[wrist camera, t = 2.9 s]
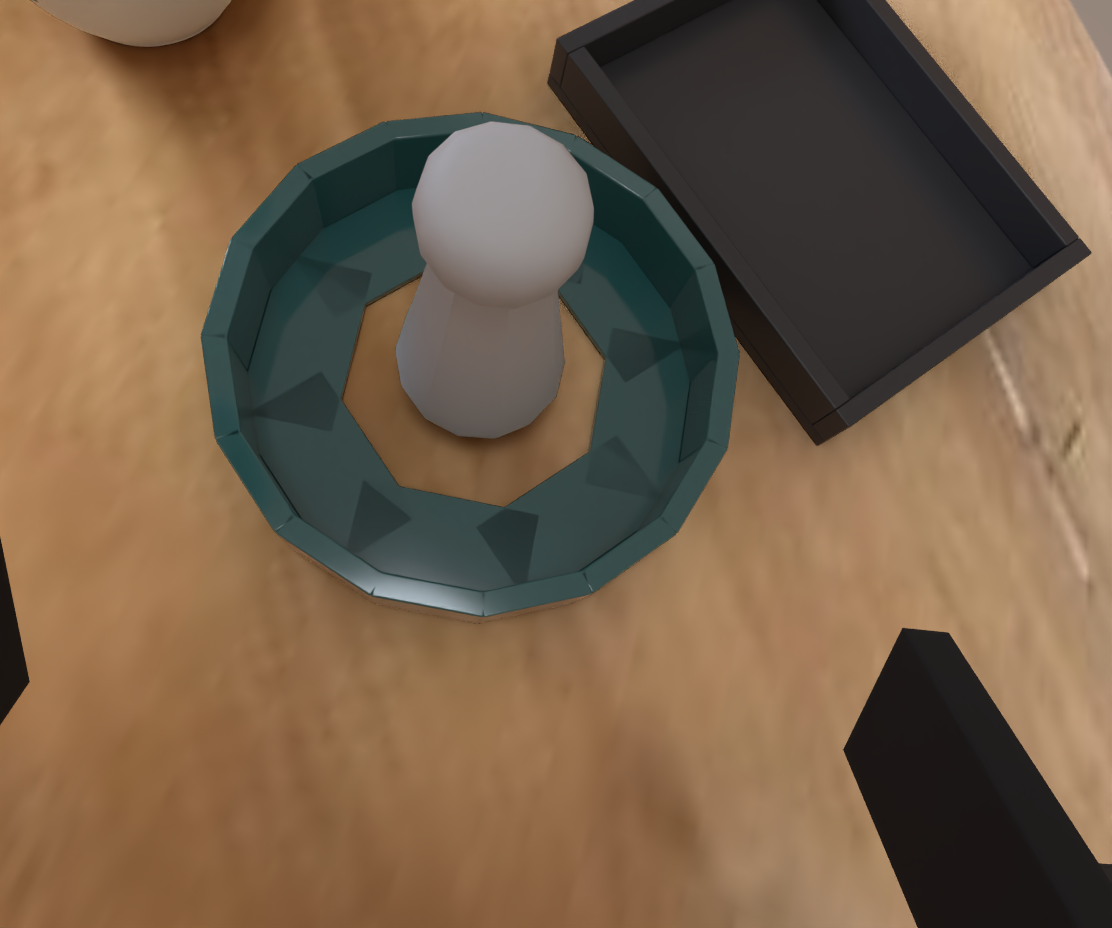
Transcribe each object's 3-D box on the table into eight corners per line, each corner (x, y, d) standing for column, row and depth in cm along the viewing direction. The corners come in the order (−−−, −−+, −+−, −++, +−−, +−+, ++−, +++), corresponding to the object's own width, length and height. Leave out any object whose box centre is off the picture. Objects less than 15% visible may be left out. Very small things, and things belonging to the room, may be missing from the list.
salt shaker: (556, 315, 33) (637, 92, 20) (552, 459, 31) (636, 315, 19) (403, 301, 32) (388, 60, 19) (391, 448, 30) (367, 290, 18)
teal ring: (135, 306, 30) (99, 260, 27) (536, 101, 35) (547, 39, 31) (404, 723, 28) (401, 730, 25) (792, 448, 33) (834, 422, 29)
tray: (546, 83, 35) (556, 37, 33) (788, -40, 38) (813, -90, 36) (816, 446, 33) (849, 427, 30) (1047, 281, 36) (1092, 252, 34)
